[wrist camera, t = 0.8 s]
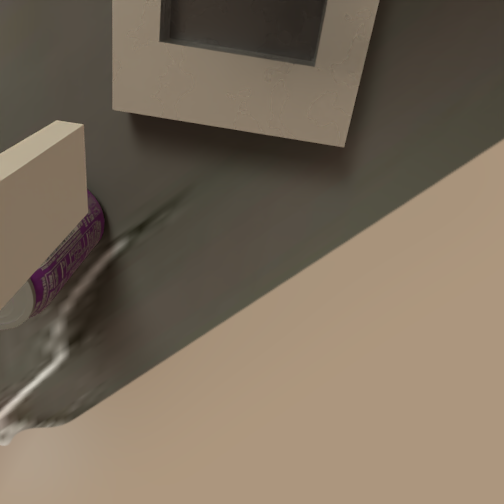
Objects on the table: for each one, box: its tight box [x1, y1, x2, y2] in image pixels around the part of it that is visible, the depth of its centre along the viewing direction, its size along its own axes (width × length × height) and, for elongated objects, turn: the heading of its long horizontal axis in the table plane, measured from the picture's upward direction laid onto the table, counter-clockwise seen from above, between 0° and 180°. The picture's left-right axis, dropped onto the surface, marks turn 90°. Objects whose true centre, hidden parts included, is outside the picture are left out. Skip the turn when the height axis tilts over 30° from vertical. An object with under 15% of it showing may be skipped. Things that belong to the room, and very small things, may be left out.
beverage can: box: [0, 189, 104, 330], centre depth 35 cm, size 7×7×12 cm
